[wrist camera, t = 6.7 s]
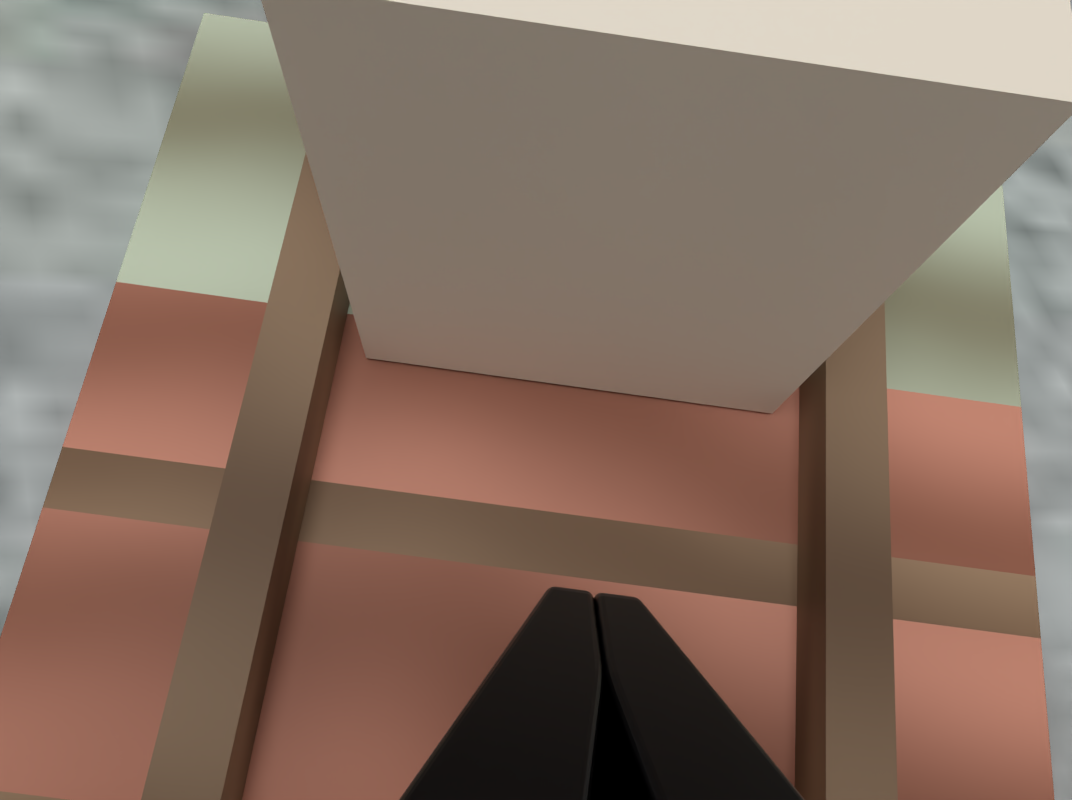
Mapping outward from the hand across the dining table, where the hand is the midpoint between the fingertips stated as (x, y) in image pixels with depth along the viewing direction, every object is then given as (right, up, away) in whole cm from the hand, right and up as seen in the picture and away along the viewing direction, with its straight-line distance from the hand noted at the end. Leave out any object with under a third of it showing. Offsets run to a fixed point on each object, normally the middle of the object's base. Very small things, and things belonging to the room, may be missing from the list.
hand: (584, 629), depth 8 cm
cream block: (0, +5, +8) cm, 9 cm away
